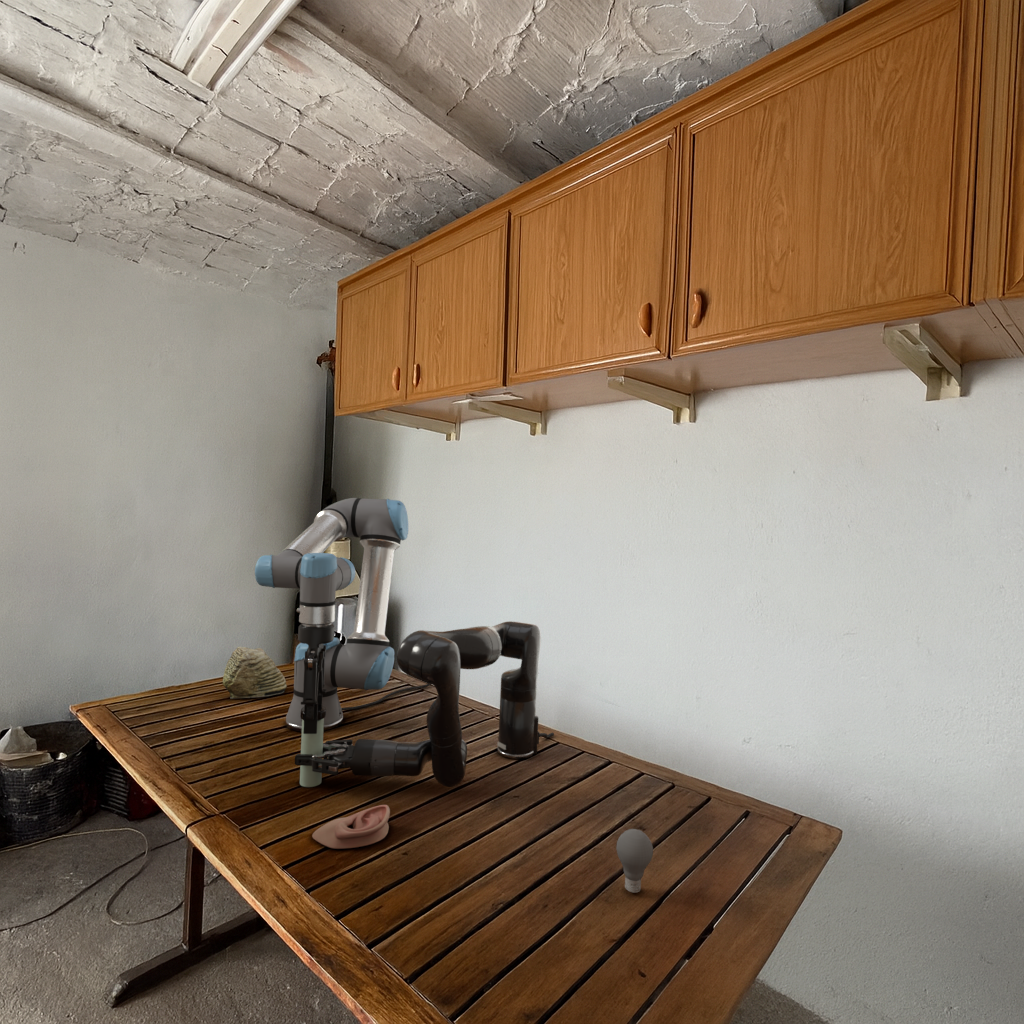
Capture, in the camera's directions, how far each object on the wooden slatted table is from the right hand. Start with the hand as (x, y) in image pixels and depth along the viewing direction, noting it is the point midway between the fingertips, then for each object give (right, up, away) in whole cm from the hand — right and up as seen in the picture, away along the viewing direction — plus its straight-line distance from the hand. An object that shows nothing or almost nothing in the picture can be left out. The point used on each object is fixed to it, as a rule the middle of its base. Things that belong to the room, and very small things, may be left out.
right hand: (299, 754), depth 140 cm
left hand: (+3, +6, 0) cm, 7 cm away
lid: (+3, +10, 0) cm, 10 cm away
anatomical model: (+17, -7, -20) cm, 27 cm away
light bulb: (+67, -10, -34) cm, 76 cm away
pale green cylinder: (+2, -6, 0) cm, 7 cm away
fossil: (-34, -4, +58) cm, 67 cm away
